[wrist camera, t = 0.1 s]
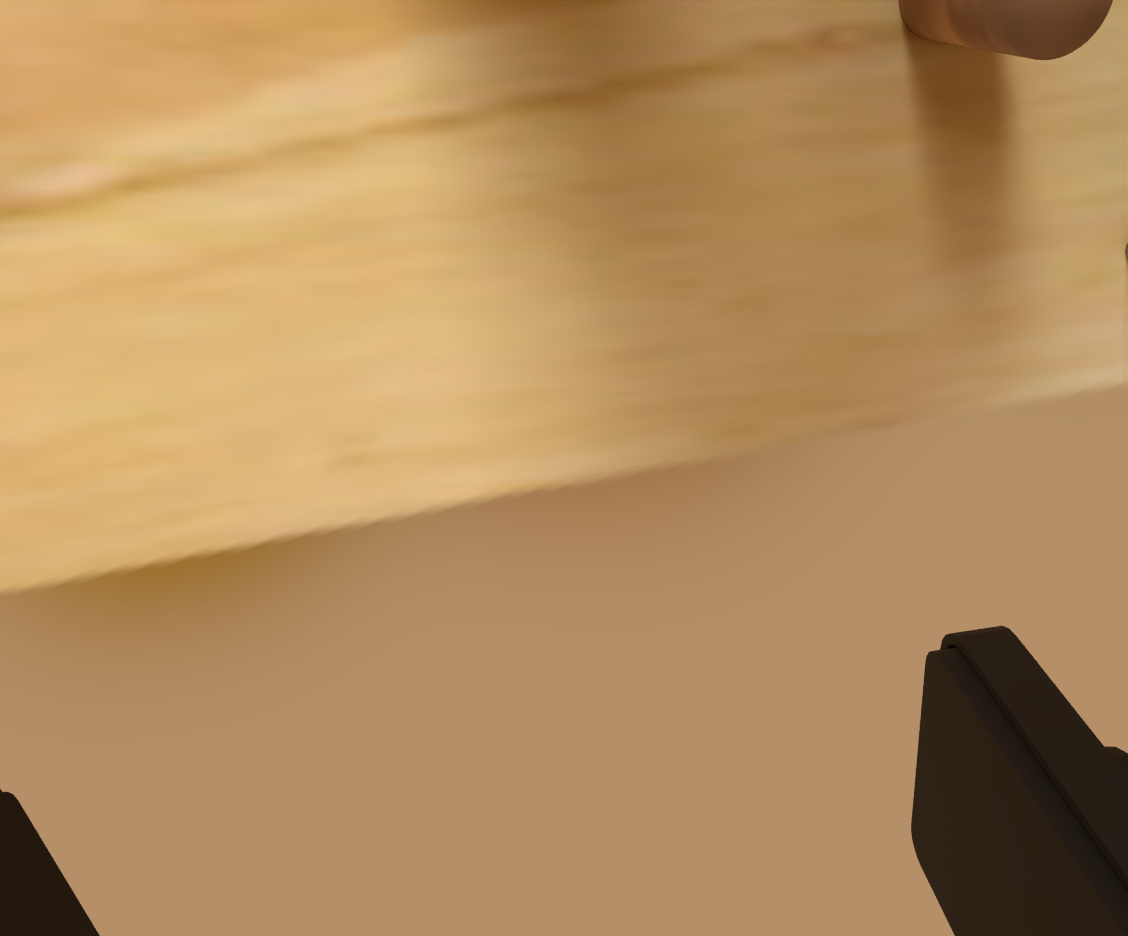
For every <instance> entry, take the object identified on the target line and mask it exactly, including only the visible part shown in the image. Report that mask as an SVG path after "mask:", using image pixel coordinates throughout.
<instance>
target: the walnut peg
mask: <svg viewBox="0 0 1128 936" xmlns="http://www.w3.org/2000/svg"><path fill="white" fill-rule="evenodd" d="M1112 1H1113V0H899V6H900V12H901V15H902V18H903V20H904V22H905V24H906V26H907V27H908V28H909V29H910V31H912V32H913V33H914V34H915V35H917V36H918V37H920V38H923V39H926V40H930V41H935V42H941V43H947V44H952V45H958V46H964V47H969V48H975V49H980V50H986V51H992V52H997V53H1003V54H1008V55H1014V56H1020V57H1025V58H1031V59H1037V60H1051V59H1056V58H1060V57H1062V56H1065V55H1067V54H1069V53H1071V52H1073V51H1075V50H1076V49H1078V48H1079V47H1081V46H1082V45H1083V44H1084V43H1086V42H1087V41H1088V40H1089V39H1090V38H1091V37H1092V36H1093V35H1094V33H1095V32H1096V31H1097V30H1098V29H1099V27H1100V26H1101V24H1102V23H1103V21H1104V19H1105V17H1106V16H1107V14H1108V11H1109V9H1110V7H1111V4H1112Z"/></svg>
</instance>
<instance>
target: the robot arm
mask: <svg viewBox="0 0 1128 936" xmlns="http://www.w3.org/2000/svg"><path fill="white" fill-rule="evenodd" d="M911 832H912V839H913V844H914V848H915V851H916V855H917V858H918V860H919V862H920V865H921V867H922V869H923V871H924V873H925V875H926V877H927V879H928V882H929V883H930V886H931V888H932V890H933V891H934V894H935V896H936V898H937V900H938V902H939V904H940V906H941V908H942V910H943V912H944V914H945V916H946V918H947V921H948V923H949V925H950V927H951V929H952V931H953V933H954V935H955V936H1128V753H1126V752H1124V751H1122V750H1120V749H1119V748H1117V747H1104V746H1103V745H1102V743H1101V742H1100V741H1099V740H1098V738H1097V737H1096V736H1095V735H1094V733H1093V732H1092V731H1091V729H1090V728H1089V727H1088V726H1087V725H1086V723H1085V722H1084V721H1083V719H1082V718H1081V717H1080V716H1079V714H1078V713H1077V712H1076V711H1075V709H1074V708H1073V707H1072V706H1071V704H1070V703H1069V702H1068V701H1067V699H1066V698H1065V697H1064V695H1063V694H1062V693H1061V692H1060V690H1059V689H1058V688H1057V687H1056V685H1055V684H1054V683H1053V682H1052V680H1051V679H1050V678H1049V677H1048V676H1047V674H1046V673H1045V672H1044V670H1043V669H1042V668H1041V667H1040V665H1039V664H1038V663H1037V661H1036V660H1035V659H1034V658H1033V656H1032V655H1031V654H1030V653H1029V651H1028V650H1027V649H1026V648H1025V646H1024V645H1023V644H1022V643H1021V641H1020V640H1019V639H1018V638H1017V636H1016V635H1015V634H1014V633H1013V632H1012V631H1011V630H1010V629H1009V628H1006V627H1004V626H998V627H991V628H984V629H978V630H972V631H965V632H958V633H952V634H948V635H945V637H944V638H943V640H942V644H941V648H940V650H937V651H931V652H929V653H928V655H927V658H926V664H925V674H924V686H923V697H922V708H921V720H920V731H919V743H918V755H917V766H916V777H915V789H914V801H913V811H912V823H911ZM0 936H99V934H98V932H97V931H96V929H95V928H94V926H93V924H92V922H91V921H90V919H89V917H88V916H87V914H86V913H85V911H84V909H83V907H82V906H81V904H80V902H79V901H78V899H77V898H76V896H75V894H74V892H73V891H72V889H71V888H70V886H69V884H68V883H67V881H66V879H65V878H64V876H63V874H62V873H61V871H60V869H59V868H58V866H57V864H56V863H55V861H54V859H53V858H52V856H51V854H50V853H49V851H48V849H47V848H46V846H45V844H44V843H43V841H42V839H41V838H40V836H39V834H38V833H37V831H36V830H35V828H34V826H33V824H32V823H31V821H30V819H29V818H28V816H27V814H26V813H25V811H24V810H23V808H22V806H21V805H20V803H19V801H18V800H17V799H16V797H15V796H14V795H13V794H11V793H9V792H2V791H1V789H0Z"/></svg>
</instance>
